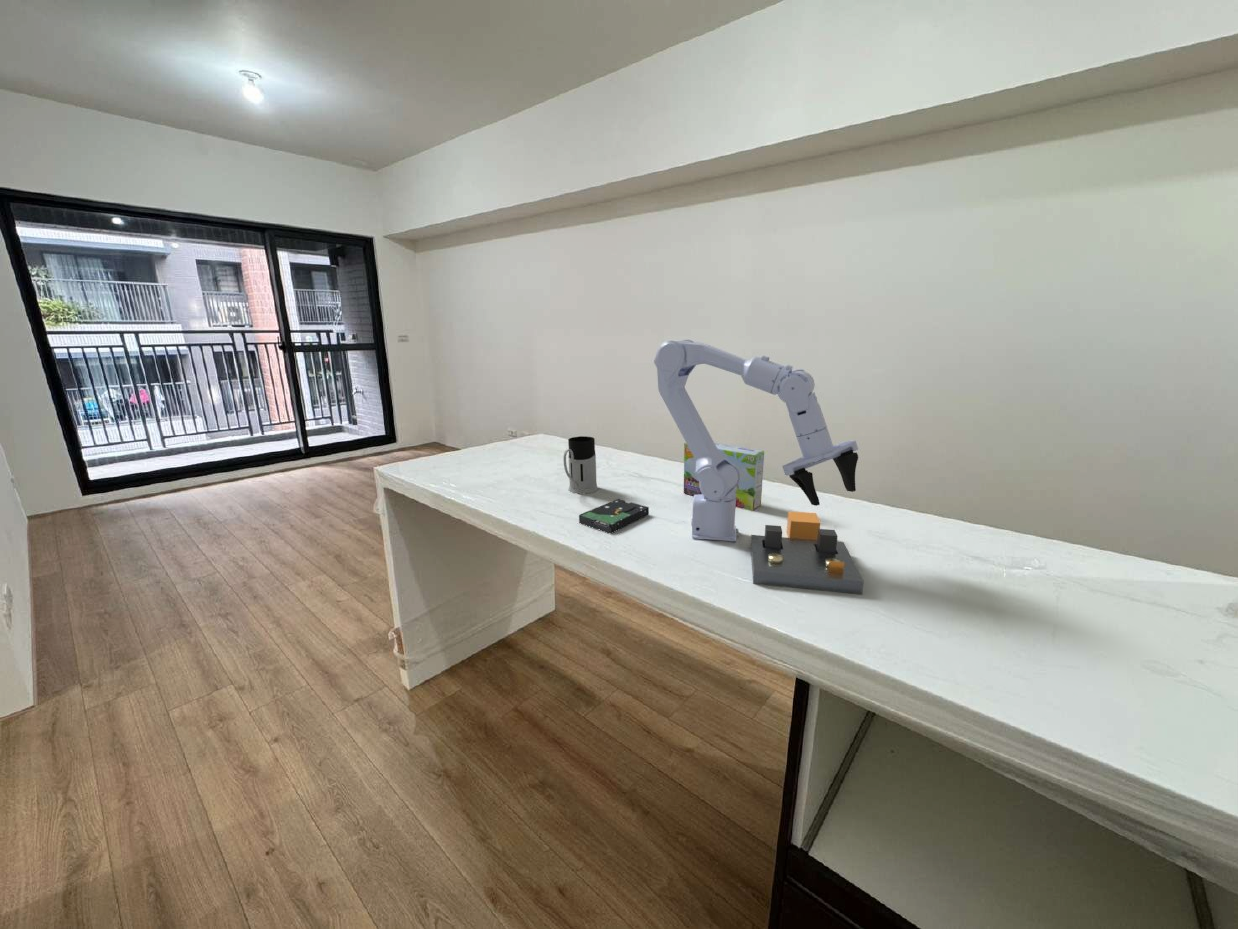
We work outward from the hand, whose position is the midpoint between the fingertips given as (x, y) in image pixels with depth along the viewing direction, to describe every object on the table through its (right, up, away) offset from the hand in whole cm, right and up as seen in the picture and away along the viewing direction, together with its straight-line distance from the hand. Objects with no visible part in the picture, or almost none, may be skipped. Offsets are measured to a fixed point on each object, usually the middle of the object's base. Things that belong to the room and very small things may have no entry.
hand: (833, 497), depth 91 cm
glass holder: (-53, -2, +45) cm, 69 cm away
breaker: (-11, -10, +3) cm, 15 cm away
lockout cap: (-2, -10, +12) cm, 15 cm away
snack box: (-14, -3, +36) cm, 39 cm away
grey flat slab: (-7, -13, -1) cm, 15 cm away
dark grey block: (-1, -11, +1) cm, 11 cm away
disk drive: (-43, -8, +24) cm, 50 cm away
